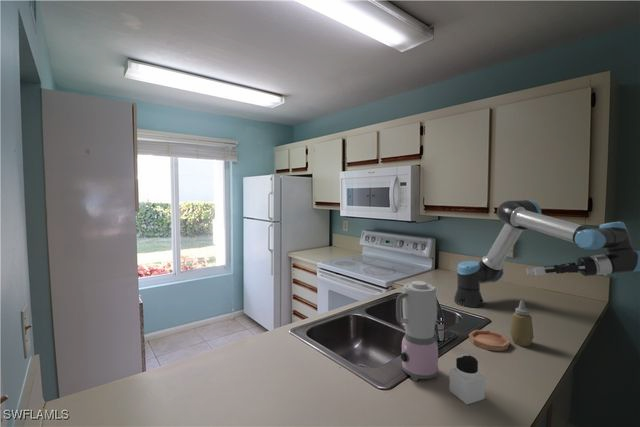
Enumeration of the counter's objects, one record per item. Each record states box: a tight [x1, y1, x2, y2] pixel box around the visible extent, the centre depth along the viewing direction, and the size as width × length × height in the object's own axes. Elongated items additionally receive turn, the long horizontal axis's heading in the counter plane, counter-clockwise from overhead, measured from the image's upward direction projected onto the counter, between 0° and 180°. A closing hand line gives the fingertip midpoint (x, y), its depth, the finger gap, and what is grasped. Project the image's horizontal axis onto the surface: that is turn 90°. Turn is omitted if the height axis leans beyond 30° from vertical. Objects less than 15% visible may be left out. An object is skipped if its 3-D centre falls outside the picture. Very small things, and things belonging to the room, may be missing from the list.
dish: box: [468, 329, 511, 352], centre depth 126 cm, size 14×14×2 cm
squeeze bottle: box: [509, 300, 534, 347], centre depth 124 cm, size 8×8×18 cm
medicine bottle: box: [449, 353, 486, 405], centre depth 93 cm, size 7×7×12 cm
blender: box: [395, 280, 439, 381], centre depth 105 cm, size 16×12×32 cm
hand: (530, 271), depth 127 cm, fingers open, 13 cm apart
